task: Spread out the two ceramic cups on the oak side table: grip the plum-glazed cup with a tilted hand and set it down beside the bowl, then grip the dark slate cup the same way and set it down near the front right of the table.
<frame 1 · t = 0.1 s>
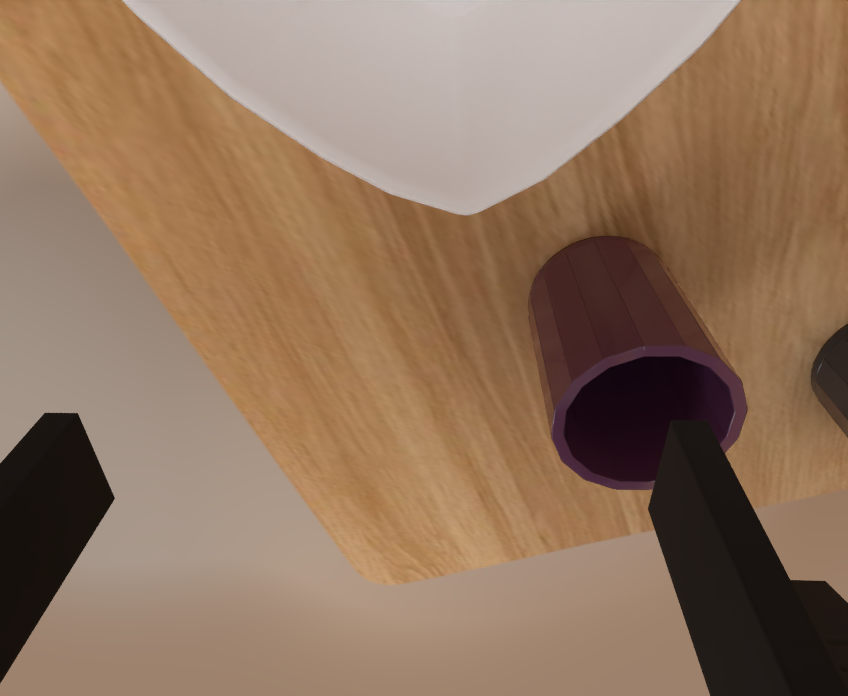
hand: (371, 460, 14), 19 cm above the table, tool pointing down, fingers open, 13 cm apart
plum cup: (598, 300, 32), on the table
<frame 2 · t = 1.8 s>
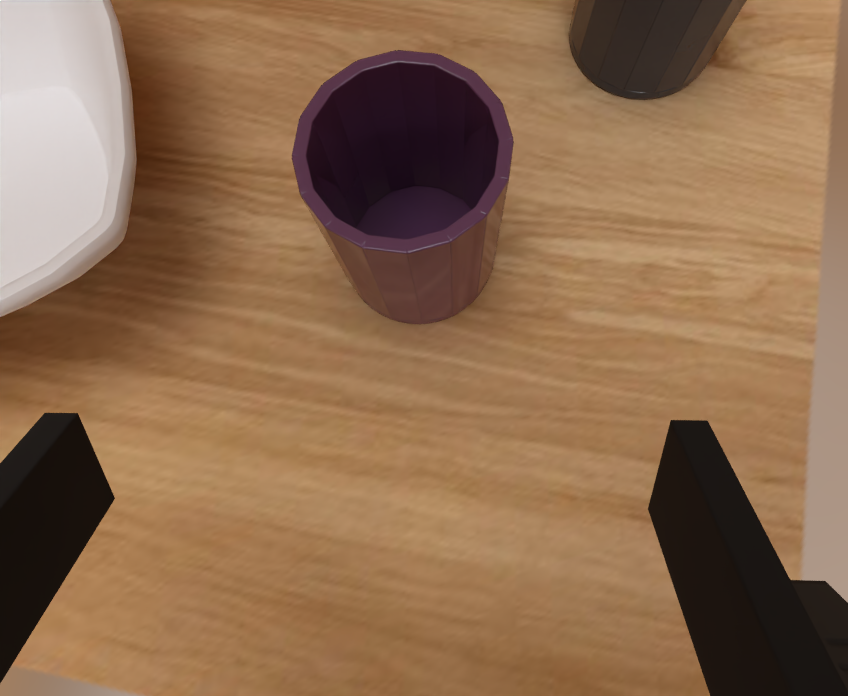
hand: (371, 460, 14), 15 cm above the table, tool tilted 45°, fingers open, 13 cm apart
plum cup: (419, 252, 30), on the table
slate cup: (640, 36, 32), on the table
bowl: (17, 200, 32), on the table
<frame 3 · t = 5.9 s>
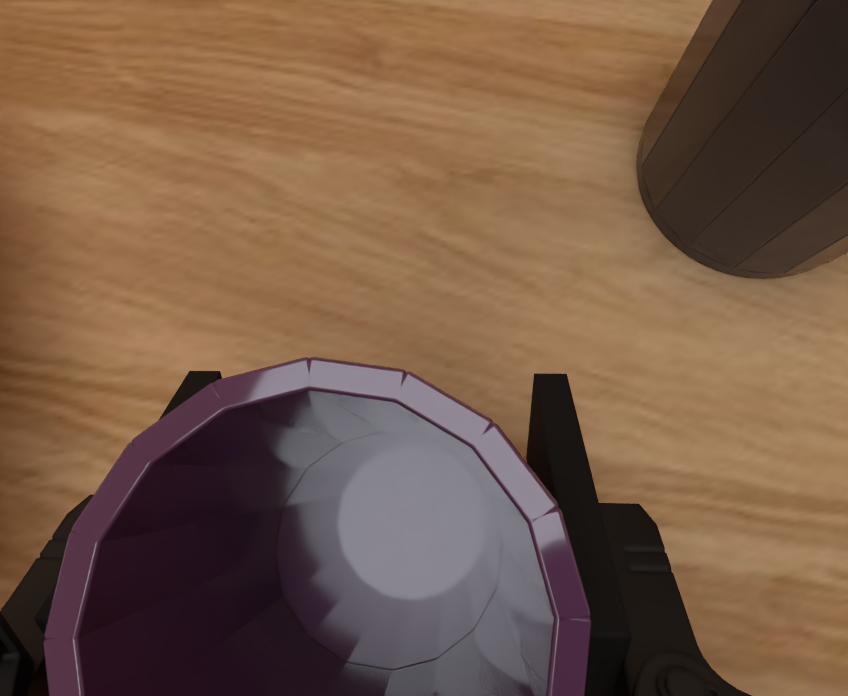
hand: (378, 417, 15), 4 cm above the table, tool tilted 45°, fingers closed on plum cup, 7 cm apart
plum cup: (390, 543, 18), on the table, touching gripper
slate cup: (752, 169, 20), on the table
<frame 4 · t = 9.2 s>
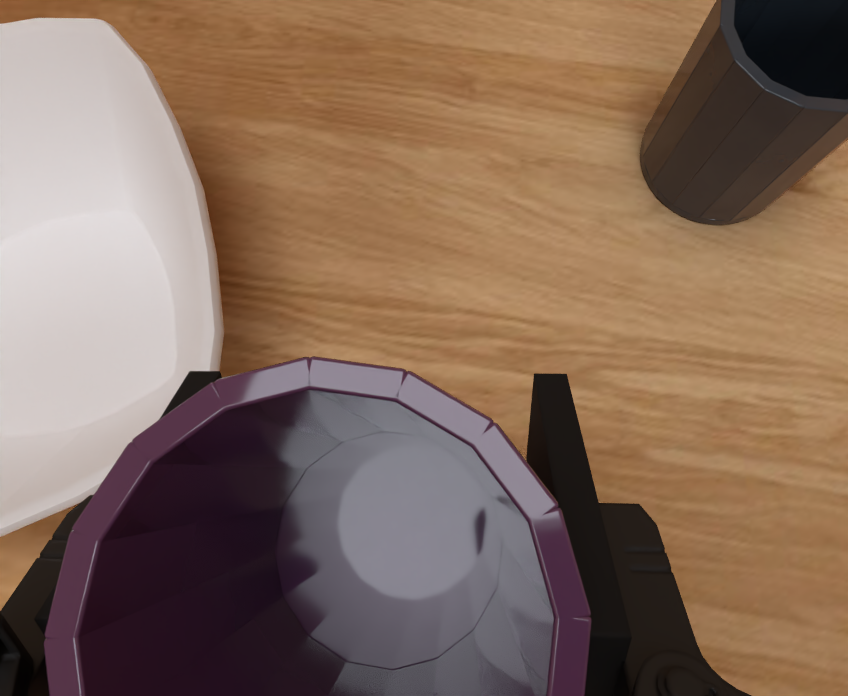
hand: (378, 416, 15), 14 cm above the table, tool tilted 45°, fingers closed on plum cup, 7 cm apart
plum cup: (390, 543, 18), point 11 cm above the table, touching gripper
slate cup: (712, 157, 31), on the table
bowl: (78, 324, 32), on the table
when the fingers open (4 cm above the table, at t = 12.8 s): plum cup stays where it is, on the table.
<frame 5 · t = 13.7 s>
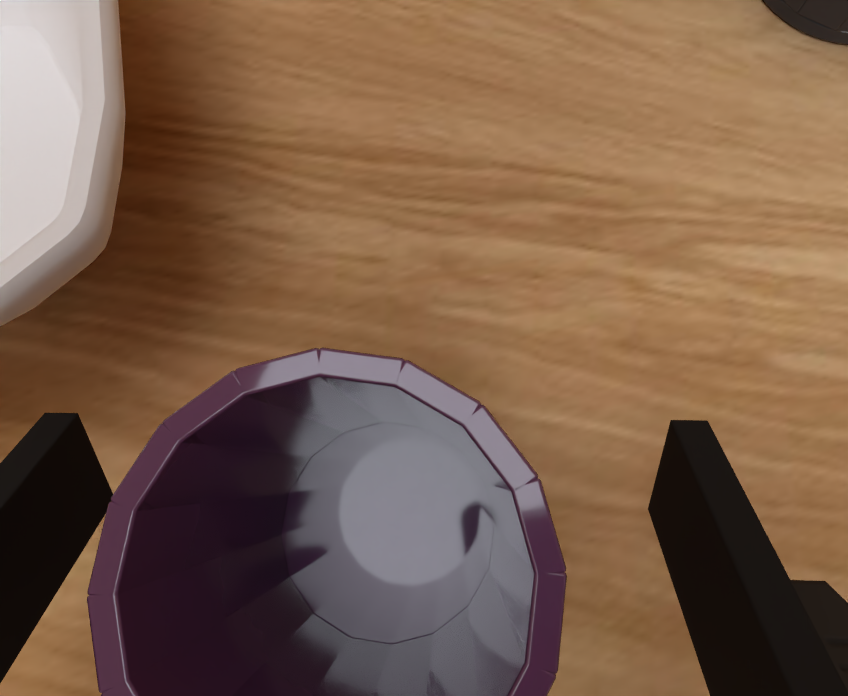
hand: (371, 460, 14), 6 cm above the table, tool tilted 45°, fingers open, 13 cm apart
plum cup: (389, 527, 19), on the table
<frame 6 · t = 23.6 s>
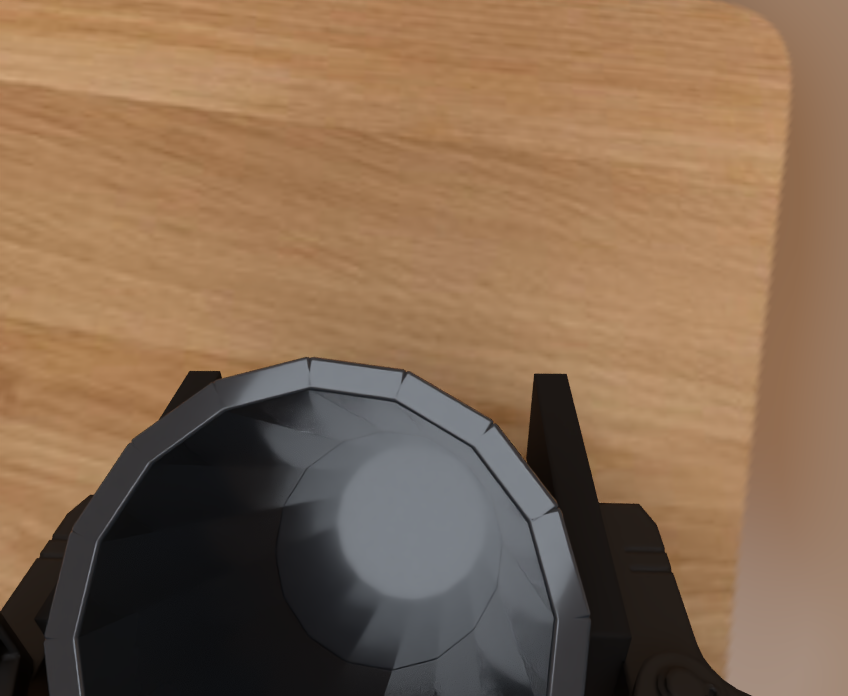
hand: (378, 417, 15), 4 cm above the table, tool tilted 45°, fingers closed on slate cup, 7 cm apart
slate cup: (390, 543, 18), on the table, touching gripper
when the fingers open (4 cm above the table, at t = 30.8 s): slate cup stays where it is, on the table.
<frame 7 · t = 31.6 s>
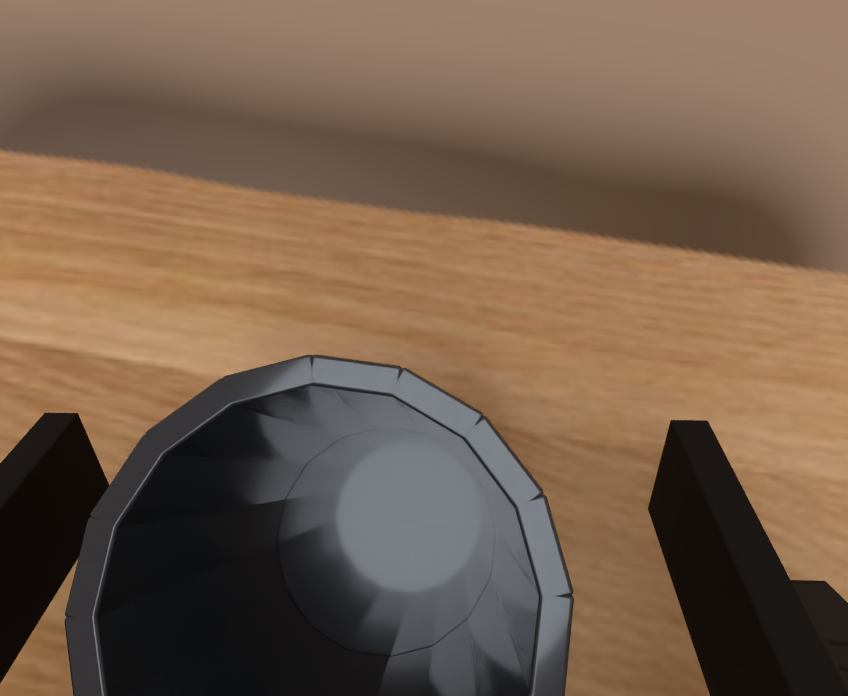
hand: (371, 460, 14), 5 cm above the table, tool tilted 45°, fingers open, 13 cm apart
slate cup: (387, 535, 19), on the table
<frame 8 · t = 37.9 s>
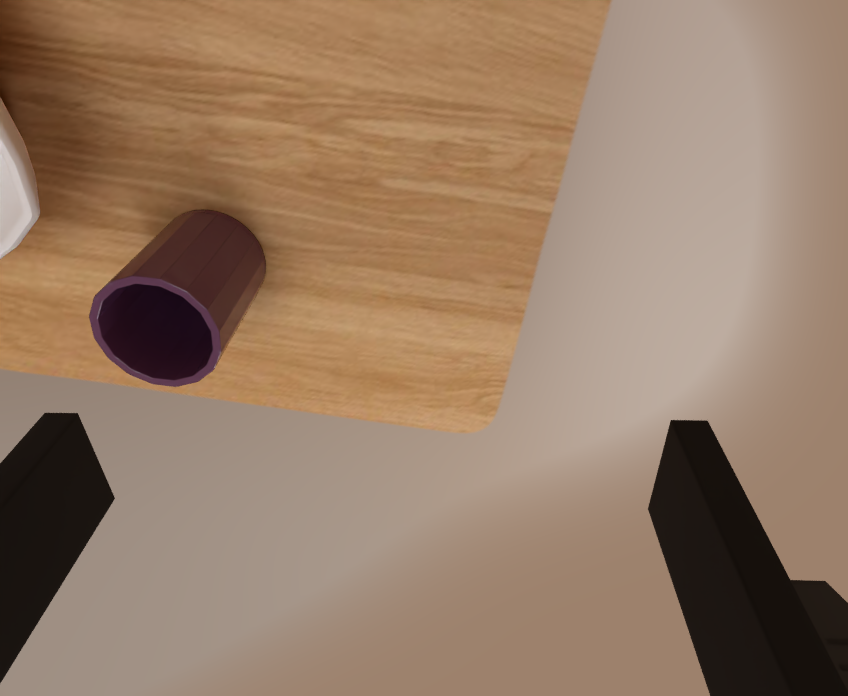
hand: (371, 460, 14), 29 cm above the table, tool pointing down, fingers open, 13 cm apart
plum cup: (214, 259, 43), on the table
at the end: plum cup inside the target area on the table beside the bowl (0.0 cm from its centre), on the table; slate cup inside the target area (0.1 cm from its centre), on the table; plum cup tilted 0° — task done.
